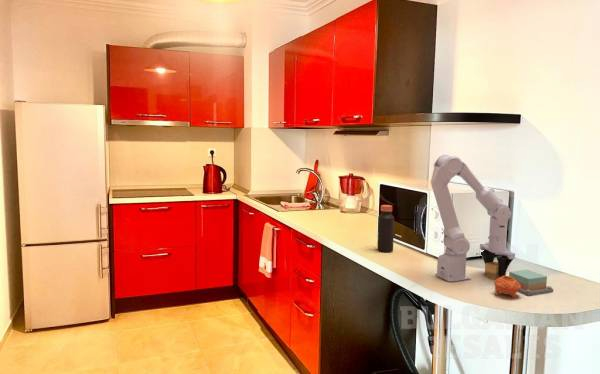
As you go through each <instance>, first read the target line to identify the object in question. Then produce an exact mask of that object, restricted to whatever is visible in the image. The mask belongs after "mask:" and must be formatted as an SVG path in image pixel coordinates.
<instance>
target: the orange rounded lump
mask: <svg viewBox="0 0 600 374" xmlns="http://www.w3.org/2000/svg"><path fill="white" fill-rule="evenodd" d="M493 285H494V290H495V291H494V292H495V295H499V293H502V294H505V295H510V296H511V298H512V299H513V298H516V294H517V293H519V292H518V291H519V290H520V289H521V286H520V284H519V283H518V282H517V281H516V280H515V278H513V277H509V275H506V276H502V277H500V278H498V279H497V280H494V282H493Z"/></svg>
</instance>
